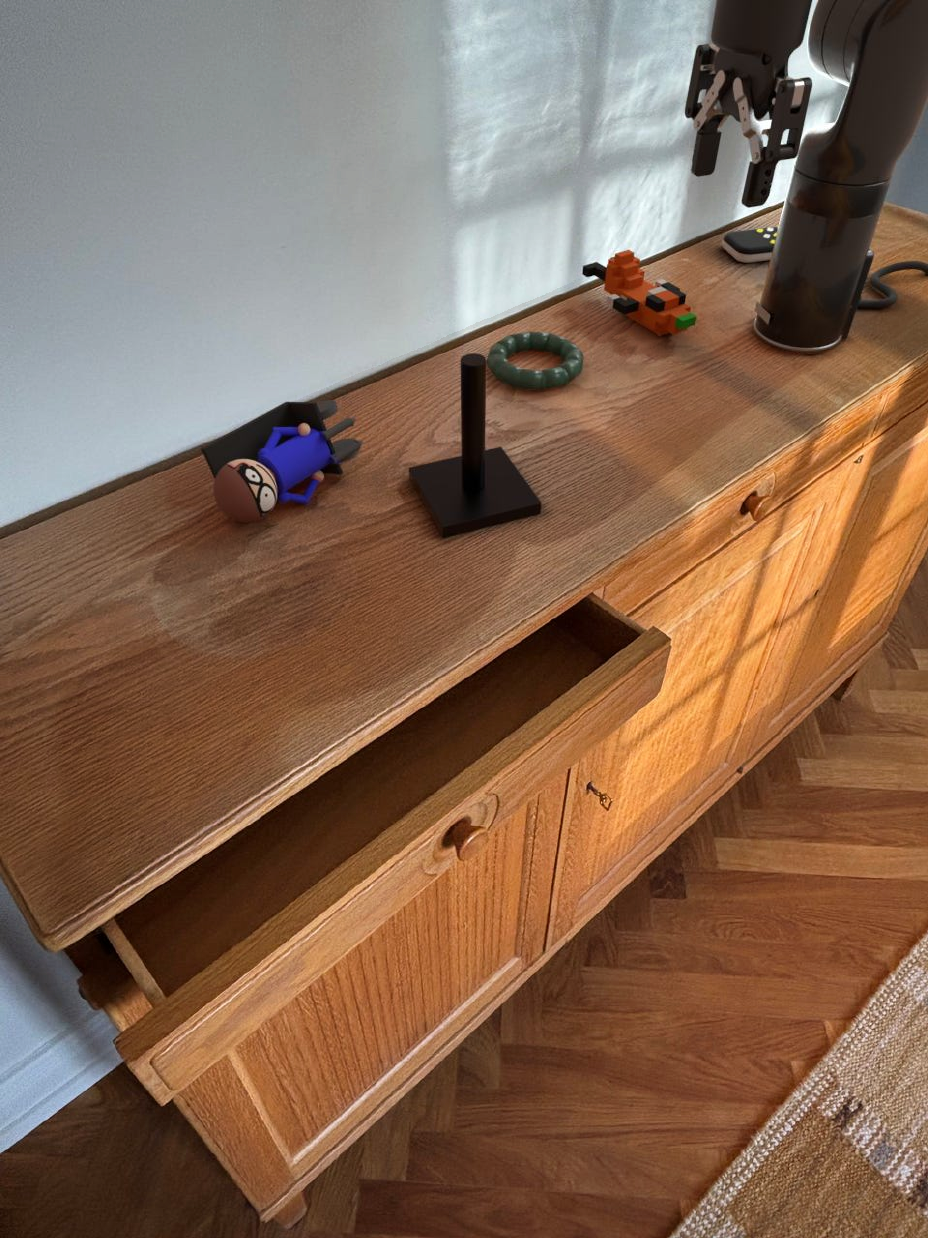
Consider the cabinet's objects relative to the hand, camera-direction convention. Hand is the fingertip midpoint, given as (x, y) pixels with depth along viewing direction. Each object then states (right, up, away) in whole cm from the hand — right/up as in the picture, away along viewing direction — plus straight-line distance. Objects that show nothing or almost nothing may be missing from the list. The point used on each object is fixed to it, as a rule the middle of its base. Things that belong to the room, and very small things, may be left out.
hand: (726, 189), depth 81 cm
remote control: (+16, +8, +32) cm, 36 cm away
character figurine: (-40, -29, -4) cm, 50 cm away
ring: (-17, -13, +10) cm, 24 cm away
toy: (-4, -6, +19) cm, 20 cm away
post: (-24, -29, -4) cm, 38 cm away
